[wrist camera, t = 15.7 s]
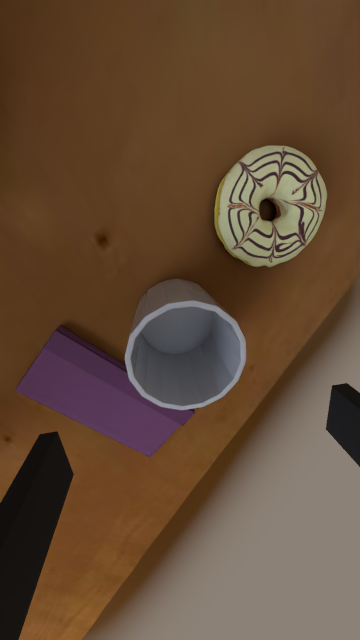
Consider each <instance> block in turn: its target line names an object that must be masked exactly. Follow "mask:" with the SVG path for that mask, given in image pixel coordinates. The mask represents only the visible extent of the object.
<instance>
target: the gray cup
mask: <svg viewBox="0 0 360 640" xmlns="http://www.w3.org/2000/svg"><path fill="white" fill-rule="evenodd" d="M125 363H126V368H127V372H128V377H129V380H130V381H131V382H132V384H133V385H134V386H135V388H136V389H137V390H138V392H139V393H140V394H141V396H143V397H144V398H146V399H148V400H150V401H151V402H153V403H155V404H156V405H158V406H161V407H165V408H171V409H177V410H187V409H193V408H199V407H203V406H206V405H208V404H210V403H212V402H214V401H216V400H218V399H220V398H222V397H223V396H224V395H225V394H226V393H227V392H228V391H229V390H230V389H231V388H232V387H233V386H234V385H235V384H236V383H237V381H238V380H239V377H240V375H241V372H242V370H243V368H244V365H245V363H246V341H245V338H244V336H243V334H242V332H241V330H240V328H239V326H238V324H237V322H236V320H235V319H234V318H233V317H232V316H231V315H230V314H229V313H228V312H227V311H226V310H225V309H224V308H223V307H222V306H221V305H220V304H219V303H218V302H217V301H216V300H215V299H214V298H213V297H212V296H211V295H210V294H209V293H208V292H207V291H205V290H204V289H203V288H202V287H200V286H199V285H198V284H196V283H194V282H191V281H188V280H184V279H170V280H165V281H162V282H160V283H158V284H156V285H154V286H153V287H151V288H150V289H149V290H148V291H147V292H146V293H145V294H144V295H143V297H142V298H141V300H140V301H139V303H138V306H137V310H136V314H135V317H134V321H133V325H132V329H131V333H130V337H129V341H128V345H127V349H126V353H125Z"/></svg>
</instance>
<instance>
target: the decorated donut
mask: <svg viewBox="0 0 360 640" xmlns="http://www.w3.org/2000/svg"><path fill="white" fill-rule="evenodd" d="M265 199H269V200H271V202H273V203H274V204H275V205H276V209H277V214H276V217H275V218H274V220H273V221H271V222H270V221H264V220H262V219H261V217H260V213H259V204H260V202H261V201H262V200H265ZM326 200H327V191H326V187H325V184H324V181H323V179H322V177H321V175H320V174H319V172H318V170H317V169H316V167H315V165H314V164H313V162H312V161H311V160H310V159H309V158H308V157H307V156H306V155H304V154H303V153H301V152H300V151H298V150H296V149H294V148H291V147H288V146H264V147H261V148H257V149H255V150H252V151H251V152H249V153H248V154H246V155H245V156H244V157H242V158H241V159H240V160H239V161H238V162H237V163H236V164H234V165H233V167H232V168H231V169H230V170H229V171H228V173H227V174H226V175H225V177H224V178H223V180H222V181H221V183H220V185H219V188H218V191H217V195H216V203H215V209H214V213H215V221H214V222H215V228H216V231H217V235H218V237H219V239H220V240H221V241H222V243H223V244H224V247H225V249H226V250H227V251H228V252H229V253H230V254H231V255H232V256H233V257H235V258H238V259H240V260H242V261H243V262H244V263H246V264H248V265H251V266H255V267H259V266H268V267H272V266H274V265H276V264H278V263H282V262H286V261H288V260H290V259H292V258H294V257H295V256H296V255H297V254H299V253H300V252H301V251H302V250H303V249H304V248H305V247H306V246H307V245H308V243H309V242H310V241H311V240H312V238H313V237H314V235H315V234H316V232H317V230H318V228H319V226H320V223H321V221H322V218H323V215H324V212H325V207H326Z"/></svg>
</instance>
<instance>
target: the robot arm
mask: <svg viewBox="0 0 360 640" xmlns="http://www.w3.org/2000/svg"><path fill="white" fill-rule="evenodd" d="M326 426H327V427H326V430H327V431H328V432H329V433H330V434H331V435H332V436H333V438H334V439H335V440H336V441H337V442H338V443H339V444H340V445H341V446H342V448H343V449H344V450H345V451H346V452H347V453H348V454H349V455H350V456H351V458H352V459H353V460H354V461H355V462H356V463H357V464H358V465H359V466H360V393H359V392H358V391H356V390H355V389H354V388H352V387H351V386H350V385H349V384H347V383H346V384H340V385H333V386H332V390H331V397H330V405H329V412H328V418H327V425H326ZM73 475H74V474H73V472H72V469H71V466H70V464H69V461H68V458H67V456H66V453H65V450H64V448H63V445H62V443H61V440H60V437H59V435H58V432H51V433H45V434H40V435H39V437H38V439H37V440H36V442H35V444H34V446H33V447H32V449H31V451H30V453H29V454H28V456H27V458H26V460H25V461H24V463H23V465H22V467H21V468H20V470H19V472H18V474H17V475H16V477H15V479H14V481H13V482H12V484H11V486H10V488H9V489H8V491H7V493H6V495H5V496H4V498H3V500H2V502H1V503H0V640H18V639H19V636H20V633H21V630H22V627H23V624H24V621H25V618H26V615H27V612H28V609H29V606H30V603H31V600H32V597H33V594H34V591H35V588H36V585H37V582H38V579H39V576H40V573H41V570H42V567H43V564H44V561H45V558H46V555H47V552H48V549H49V546H50V543H51V540H52V538H53V535H54V532H55V529H56V526H57V523H58V520H59V517H60V514H61V511H62V508H63V505H64V502H65V499H66V496H67V493H68V490H69V487H70V484H71V481H72V478H73Z"/></svg>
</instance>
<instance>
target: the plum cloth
mask: <svg viewBox="0 0 360 640" xmlns="http://www.w3.org/2000/svg"><path fill="white" fill-rule="evenodd" d="M15 391H16V392H18V393H20V394H22V395H24V396H26V397H28V398H31V399H33V400H35V401H37V402H39V403H41V404H43V405H45V406H47V407H49V408H51V409H53V410H55V411H57V412H59V413H61V414H63V415H65V416H67V417H69V418H71V419H73V420H75V421H77V422H79V423H82V424H84V425H86V426H88V427H90V428H92V429H94V430H96V431H98V432H100V433H102V434H104V435H106V436H108V437H110V438H112V439H114V440H116V441H118V442H120V443H122V444H124V445H126V446H128V447H130V448H132V449H135V450H137V451H139V452H141V453H143V454H145V455H147V456H149V457H151V456H152V455H153V454H154V453H155V452H156V451H157V450H158V449H159V448H160V446H161V445H162V444H163V443H164V442H165V441H166V440H167V439H168V438H169V437H170V436H171V435H172V434H173V432H174V431H175V430H176V429H177V428H178V427H179V426H180V425H182V426H183V425H184V424H185V423H186V422H187V421H188V420H189V419H190V418H191V416H192V415H193V414H194V413H195V412H194V408H193V409H187V410H177V409H171V408H165V407H161V406H158V405H156V404H155V403H153V402H151V401H150V400H148V399H146V398H144V397H143V396H141V394H140V393H139V392H138V390H137V389H136V388H135V386H134V385H133V384H132V382H131V381H130V380H129V377H128V372H127V368H126V365H125V364H123V363H121V362H120V361H118V360H116V359H115V358H113V357H111V356H110V355H108V354H106V353H105V352H103V351H102V350H100V349H98V348H97V347H95V346H93V345H92V344H90V343H88V342H87V341H85V340H83V339H82V338H80V337H78V336H77V335H75V334H73V333H72V332H70V331H68V330H67V329H65V328H63V327H62V326H59V327H58V328H57V329H56V330H55V331H54V333H53V334H52V336H51V337H50V339H49V340H48V341H47V343H46V344H45V346H44V348H43V350H42V351H41V353H40V354H39V355H38V357H37V358H36V360H35V361H34V363H33V364H32V366H31V367H30V369H29V370H28V371H27V373H26V374H25V376H24V377H23V379H22V380H21V382H20V383H19V384H18V386H17V387H16V389H15Z"/></svg>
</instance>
